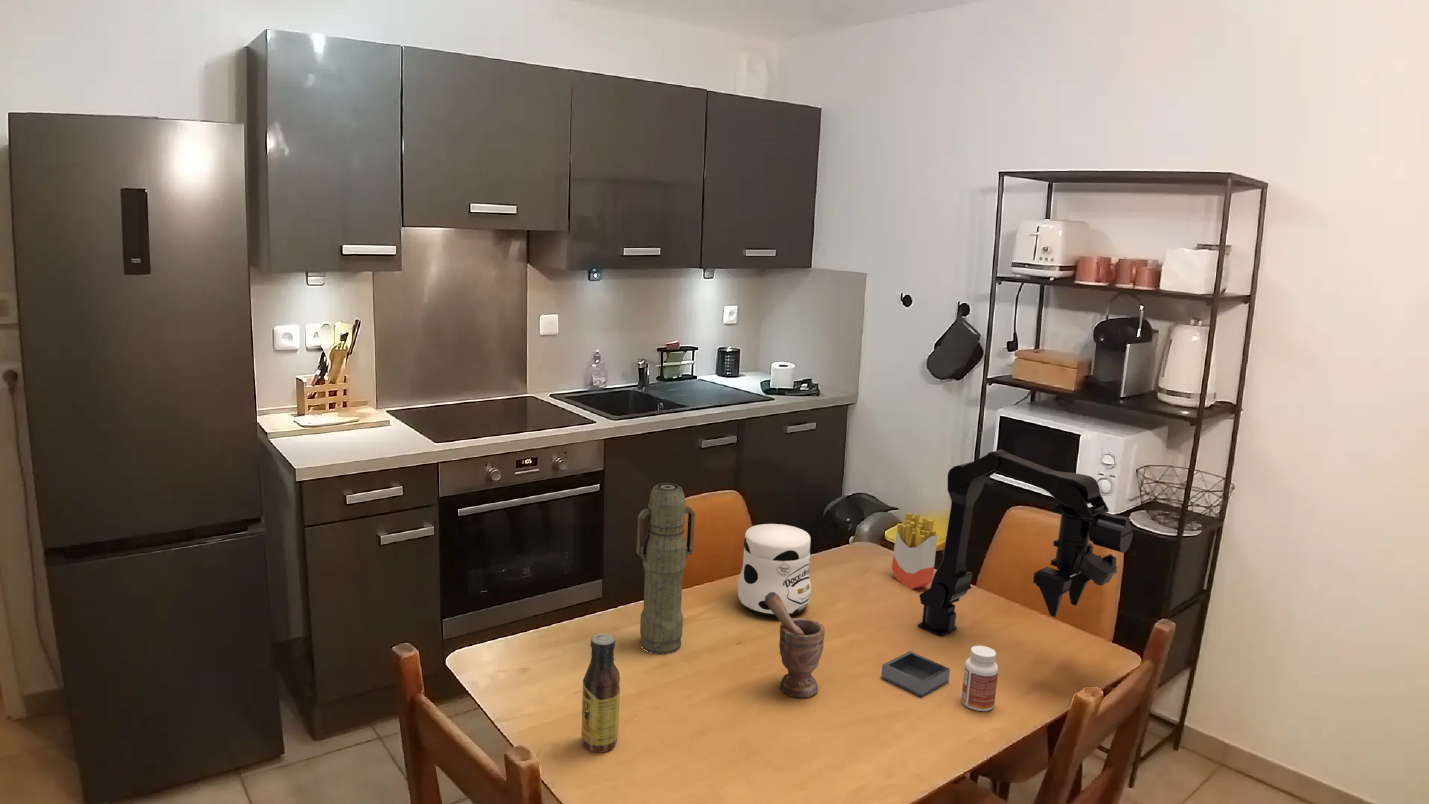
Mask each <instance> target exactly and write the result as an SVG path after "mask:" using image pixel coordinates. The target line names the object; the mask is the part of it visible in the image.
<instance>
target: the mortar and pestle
mask: <svg viewBox="0 0 1429 804" xmlns="http://www.w3.org/2000/svg"><path fill="white" fill-rule="evenodd" d="M765 602H766V604H767V605H768V607H769V608H770V610H771V611H772V612H773V613H774V614H775V615H776V616H775V617H776V618H777V620H778V621H779V622H780V625H779V626H780V627H779V645H778V647H779V654H780V657H781V663H782V665H783V667H784V668H786V669H787V673H786V674H785V675H783V677H782V678H781V680H780V682H779V687H780V690H781V692H782V693H784V694H785V695H787V696H789V697H794V698H810V697H813V696H814V695H815V694H817V693H818V692H819V687H818V682H817V680H816V679H815V678H814V676H812V673H813V672H814V671H815V670H816V669H817V668H818V666H819V664H820V659H821V657H822V655H823V654H822V653H823V650H824V640H825V631H826V630H825V629H826V628H825V626H824V625H823V624H822V623H821V622H818V621H816V620H814V619H809V618H805V617H804V618H803V617H795V618H794V617H791V615H789V614H788V612H787V610H786V608H785V606H784V604H783V602H782V600H781V599H780V597H779V596H778V595H777V594H776V593H775V592H770V593H768V594H767V595H766V596H765Z"/></svg>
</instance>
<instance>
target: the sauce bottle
mask: <svg viewBox="0 0 1429 804" xmlns="http://www.w3.org/2000/svg"><path fill="white" fill-rule="evenodd" d="M590 648H591V655H590V662H589V664H588V667H587V670H586V672H585V674H584V677H583V679H582V701H581V702H582V704H581V740H582V741H581V742H582V745H583V747H584V748H585V749H586V750H587V751H589V752H595V753H605V752H609V751H611V750H613V749H614V748H615V746H616V744H617V743H618V737H619V720H620V719H619V717H620V698H621V696H620V695H621V690H620V689H621V687H620V681H621V678H620V677H621V676H620V672H619V669H618V668H617V666H616V665H615V662H614V661H615V657H614V656H615V654H614V651H615V648H616V638H615V636H614V635H612V634H611V633H604V632H603V633H597V634H595V635H593V636H592V637H591V639H590Z"/></svg>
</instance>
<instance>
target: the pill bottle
mask: <svg viewBox="0 0 1429 804" xmlns="http://www.w3.org/2000/svg"><path fill="white" fill-rule="evenodd" d="M996 659H997V652H996V651H995V649H993V648H991V647H989V646H984V645H973V646H971V648H970V654H969V657H968V658H967V659H966V660H965V662H964V672H963V681H962V689H961V690H962V691H961V702H962V704H963V705H964V706H965V707H967V708H969V709H971V710H973V711H978V712H988V711H990V710H992V709H993V708H994V706H995V700H996V693H997V685H998V684H997V683H998V675H999V665H998V664H997V663H996Z"/></svg>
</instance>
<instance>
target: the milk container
mask: <svg viewBox="0 0 1429 804" xmlns="http://www.w3.org/2000/svg"><path fill="white" fill-rule="evenodd" d="M743 541H744V542H743V556H742V557H743V558H742V560H743V561H742V567H741V570H740V574H739V577H738V581H737V595H738V600H739V601H740V603H741V604H742V605H743V606H744V607H745V608H747V609H748V610H750V611H752V612H754V613H757V614H761V615H763V616H771V617H772V616H773V617H776V615H775V614H774V613H773V612H772V611H771V610H770V608H769V607H768V605H767V604H766V602H765V596H766V595H767V594H768V593H770V592H775V593H776V594H777V595H778V596H779V597H780V599H781V600H782V602H783V604H784V606H785V608H786V610H787V612H788V614H789V616H792V615H795V614H798V613H800V612H802V611H804V610H805V609H806V608H807V607H808V605H809V602H810V598H811V594H812V583H811V580H810V573H809V572H810V571H809V570H810V569H809V568H810V561H811V559H810V558H811V549H812V547H811V546H812V544H811V535H810V534H809V533H808V532H807V531H806V530H804V529H801V528H799V527H797V526H793V525H787V524H780V523H779V524H777V523H763V524H757V525H753V526H751V527H749V528H748V529H747V530H746V532H745V535H744V539H743Z"/></svg>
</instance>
